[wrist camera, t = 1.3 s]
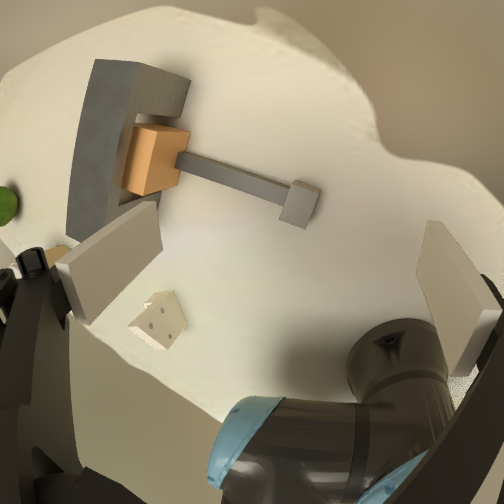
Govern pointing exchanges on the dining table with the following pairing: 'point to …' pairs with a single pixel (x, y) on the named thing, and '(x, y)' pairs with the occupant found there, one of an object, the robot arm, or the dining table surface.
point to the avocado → (7, 205)
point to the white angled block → (159, 321)
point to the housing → (114, 139)
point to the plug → (204, 172)
